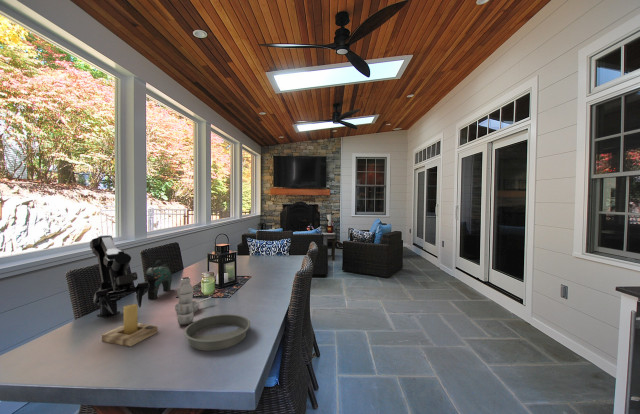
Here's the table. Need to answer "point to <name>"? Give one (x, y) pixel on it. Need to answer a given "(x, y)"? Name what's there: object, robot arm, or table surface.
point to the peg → (130, 319)
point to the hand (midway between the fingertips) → (127, 310)
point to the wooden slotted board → (129, 340)
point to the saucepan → (194, 304)
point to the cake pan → (217, 339)
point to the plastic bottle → (185, 302)
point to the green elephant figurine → (158, 280)
